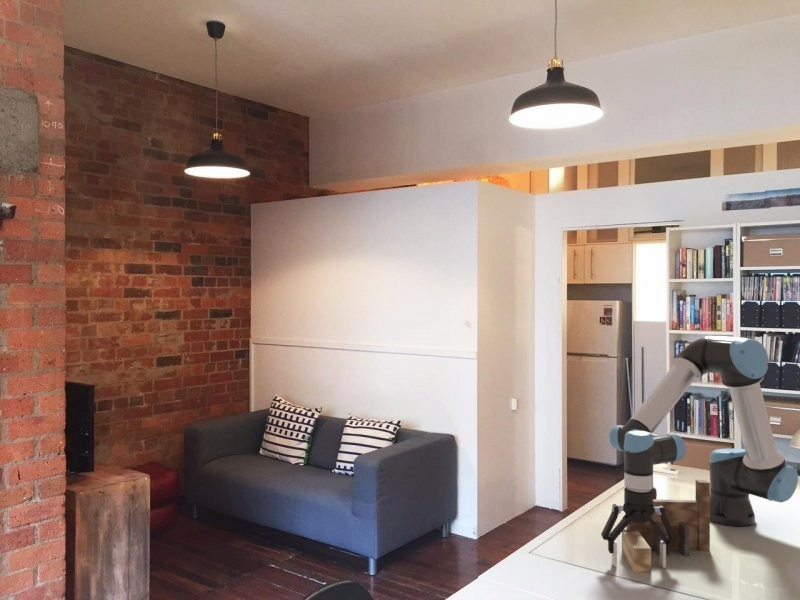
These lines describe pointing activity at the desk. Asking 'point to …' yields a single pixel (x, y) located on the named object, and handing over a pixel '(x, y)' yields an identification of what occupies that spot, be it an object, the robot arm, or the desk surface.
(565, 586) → the desk surface
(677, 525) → the wooden u-shaped stand
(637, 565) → the tan rectangular block
